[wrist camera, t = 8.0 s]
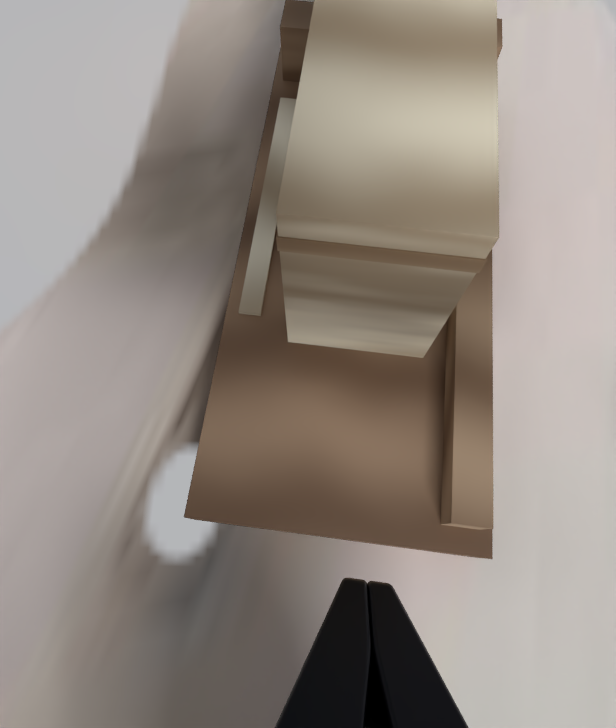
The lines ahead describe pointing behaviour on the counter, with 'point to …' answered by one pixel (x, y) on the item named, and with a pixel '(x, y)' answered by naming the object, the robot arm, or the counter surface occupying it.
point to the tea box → (389, 172)
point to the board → (342, 397)
